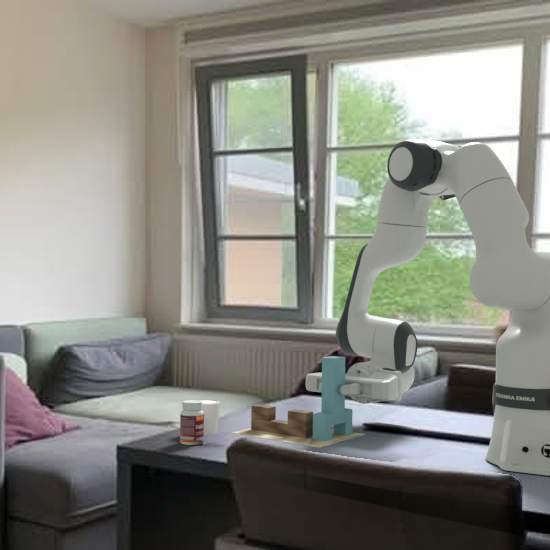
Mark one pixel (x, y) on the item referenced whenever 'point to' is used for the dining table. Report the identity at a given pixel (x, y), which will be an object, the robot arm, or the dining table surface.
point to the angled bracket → (332, 402)
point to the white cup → (210, 416)
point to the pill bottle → (191, 422)
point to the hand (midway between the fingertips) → (331, 389)
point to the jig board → (299, 440)
